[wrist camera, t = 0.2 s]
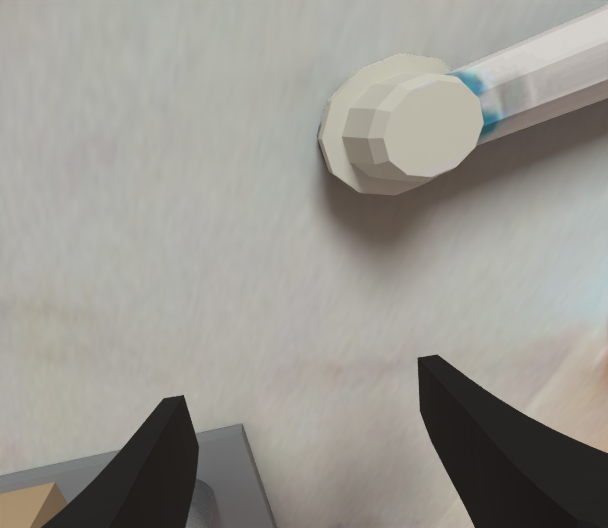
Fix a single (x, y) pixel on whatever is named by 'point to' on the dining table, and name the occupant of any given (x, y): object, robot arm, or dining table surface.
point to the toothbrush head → (457, 105)
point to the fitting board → (80, 473)
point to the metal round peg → (201, 506)
